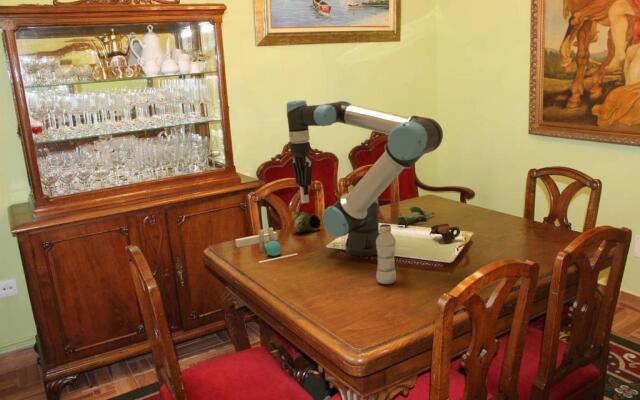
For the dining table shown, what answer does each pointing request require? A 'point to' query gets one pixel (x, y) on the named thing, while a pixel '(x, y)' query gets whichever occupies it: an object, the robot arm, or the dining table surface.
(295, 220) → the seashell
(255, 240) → the back rail
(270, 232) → the pin
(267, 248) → the ball
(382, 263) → the plastic bottle
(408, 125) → the robot arm
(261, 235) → the pin
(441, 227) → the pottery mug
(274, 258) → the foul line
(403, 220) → the figure
